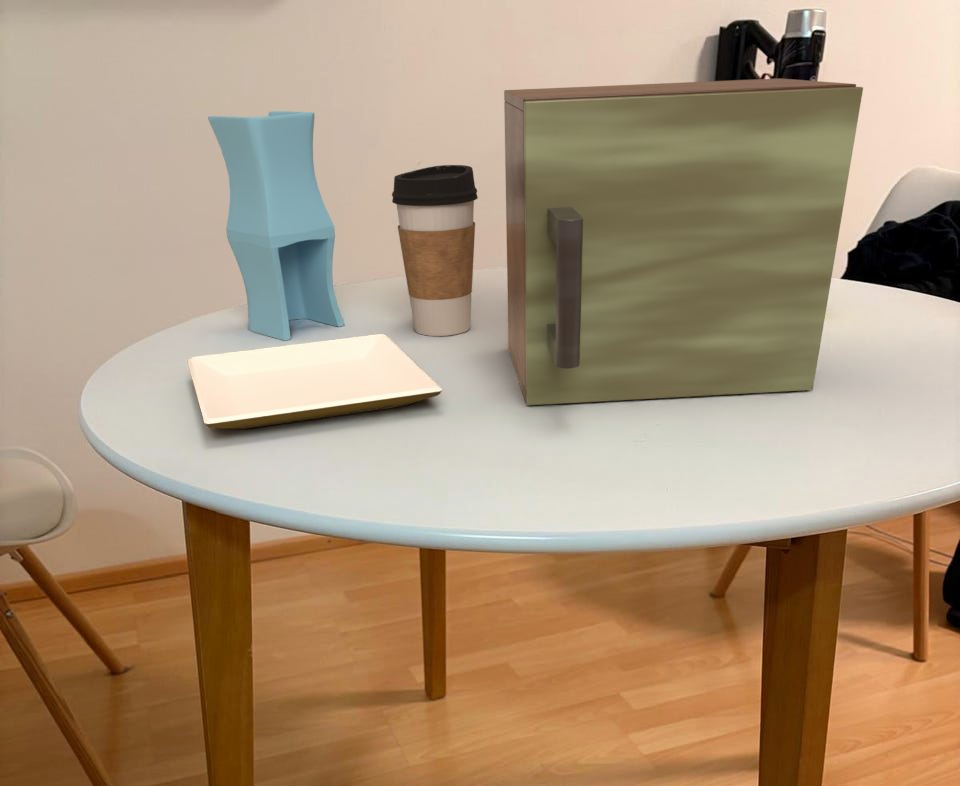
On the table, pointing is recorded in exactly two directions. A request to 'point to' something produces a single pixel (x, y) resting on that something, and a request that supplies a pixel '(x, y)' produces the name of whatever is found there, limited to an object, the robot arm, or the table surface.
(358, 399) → the plate
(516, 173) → the cupboard
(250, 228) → the vase
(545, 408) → the table surface
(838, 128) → the door
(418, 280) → the coffee cup
